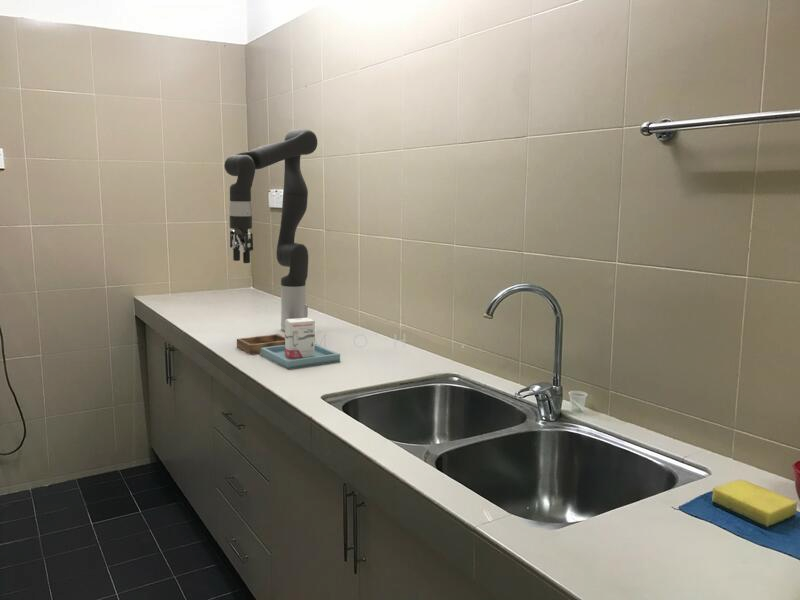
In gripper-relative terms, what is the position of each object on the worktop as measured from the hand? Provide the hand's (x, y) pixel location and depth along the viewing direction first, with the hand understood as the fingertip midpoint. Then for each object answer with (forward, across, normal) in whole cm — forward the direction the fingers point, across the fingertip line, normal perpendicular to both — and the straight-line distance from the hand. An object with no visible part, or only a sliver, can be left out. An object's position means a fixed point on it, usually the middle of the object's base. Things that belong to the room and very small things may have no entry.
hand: (241, 261), depth 228 cm
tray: (+28, -32, -6) cm, 43 cm away
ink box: (+27, -32, -6) cm, 42 cm away
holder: (+28, -14, -2) cm, 31 cm away
